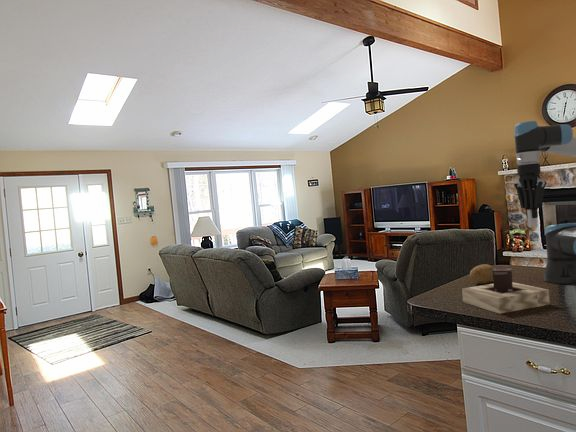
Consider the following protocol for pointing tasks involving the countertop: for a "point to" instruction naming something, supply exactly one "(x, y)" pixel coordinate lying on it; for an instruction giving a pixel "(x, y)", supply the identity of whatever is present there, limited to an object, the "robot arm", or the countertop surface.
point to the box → (502, 280)
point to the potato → (482, 274)
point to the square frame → (506, 297)
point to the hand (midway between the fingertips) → (532, 226)
